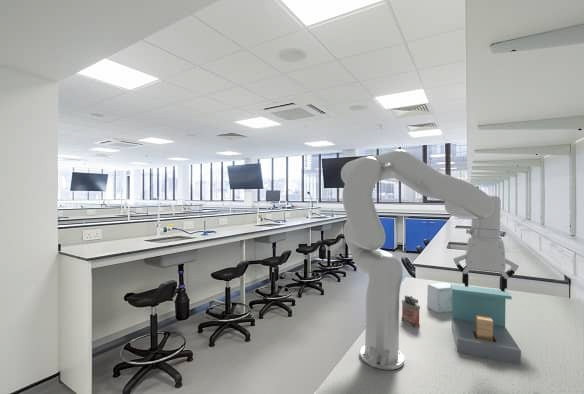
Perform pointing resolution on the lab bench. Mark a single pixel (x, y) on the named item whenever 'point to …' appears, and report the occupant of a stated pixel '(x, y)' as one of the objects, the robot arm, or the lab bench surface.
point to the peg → (484, 327)
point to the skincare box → (439, 297)
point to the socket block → (464, 323)
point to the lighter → (410, 311)
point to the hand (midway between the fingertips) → (483, 288)
